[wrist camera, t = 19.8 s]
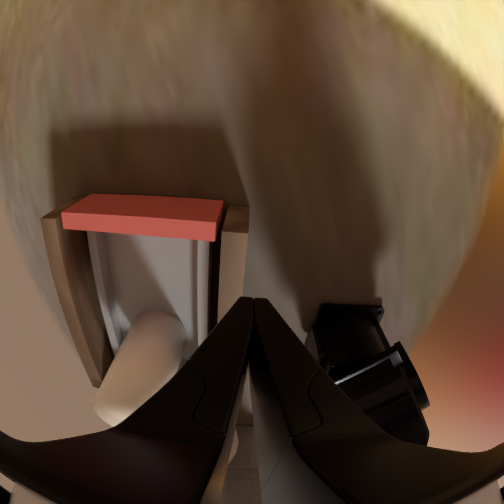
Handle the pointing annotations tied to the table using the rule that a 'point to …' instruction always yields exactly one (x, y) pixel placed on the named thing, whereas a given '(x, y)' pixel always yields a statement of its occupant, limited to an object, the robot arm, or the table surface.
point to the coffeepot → (243, 471)
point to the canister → (141, 365)
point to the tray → (150, 259)
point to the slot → (85, 292)
